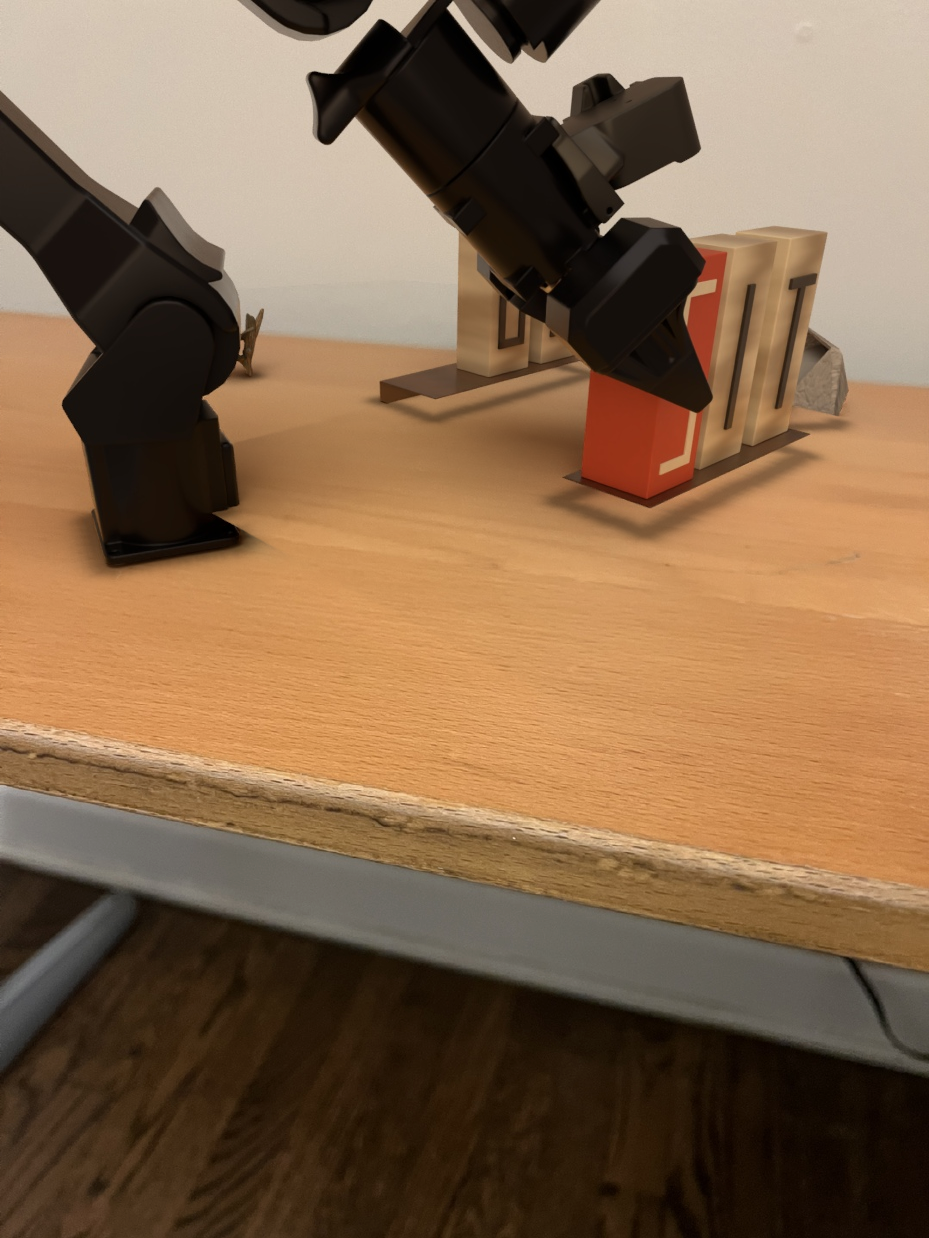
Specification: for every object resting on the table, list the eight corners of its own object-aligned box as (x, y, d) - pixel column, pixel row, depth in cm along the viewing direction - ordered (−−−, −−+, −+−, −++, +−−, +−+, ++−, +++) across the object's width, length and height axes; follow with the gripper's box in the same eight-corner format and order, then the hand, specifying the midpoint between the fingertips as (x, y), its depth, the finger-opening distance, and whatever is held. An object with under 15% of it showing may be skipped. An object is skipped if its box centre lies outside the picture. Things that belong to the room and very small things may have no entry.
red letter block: (648, 500, 49) (679, 260, 43) (580, 477, 51) (600, 249, 45) (694, 479, 51) (730, 252, 45) (627, 458, 54) (652, 241, 48)
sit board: (646, 534, 48) (682, 264, 42) (559, 501, 52) (579, 248, 45) (806, 455, 60) (855, 233, 53) (725, 433, 63) (761, 222, 56)
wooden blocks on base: (435, 419, 65) (436, 211, 58) (379, 400, 68) (374, 203, 61) (592, 374, 76) (608, 196, 69) (537, 360, 79) (547, 190, 73)
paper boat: (868, 427, 61) (740, 383, 61) (818, 479, 67) (701, 440, 67) (878, 301, 67) (760, 260, 66) (831, 359, 72) (722, 322, 72)
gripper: (690, -22, 32) (895, 301, 39) (542, 14, 47) (708, 240, 55) (464, 226, 34) (697, 485, 42) (395, 182, 50) (573, 375, 57)
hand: (668, 380), depth 49 cm, fingers open, 9 cm apart
